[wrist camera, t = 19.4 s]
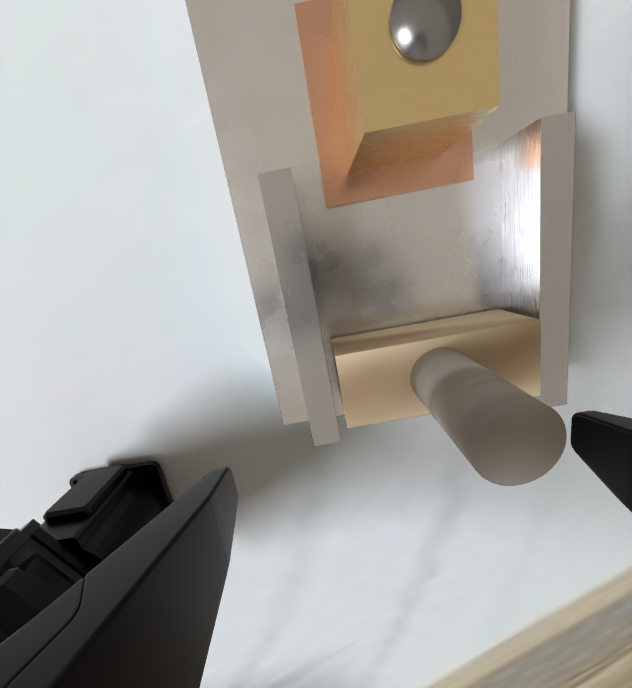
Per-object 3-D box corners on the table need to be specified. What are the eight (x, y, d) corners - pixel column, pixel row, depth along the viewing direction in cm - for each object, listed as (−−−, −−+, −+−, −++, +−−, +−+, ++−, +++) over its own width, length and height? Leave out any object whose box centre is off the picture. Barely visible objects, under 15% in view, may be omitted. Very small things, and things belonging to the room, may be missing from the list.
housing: (443, 153, 16) (502, 103, 11) (348, 171, 16) (365, 130, 11) (433, 12, 15) (498, -119, 10) (329, 34, 15) (339, -84, 10)
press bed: (543, 369, 21) (603, 397, 17) (285, 414, 22) (279, 452, 17) (548, -144, 14) (650, -319, 10) (177, -61, 15) (122, -192, 11)
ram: (499, 371, 19) (674, 472, 10) (341, 399, 19) (368, 521, 10) (498, 309, 18) (690, 356, 9) (330, 339, 18) (350, 414, 9)
